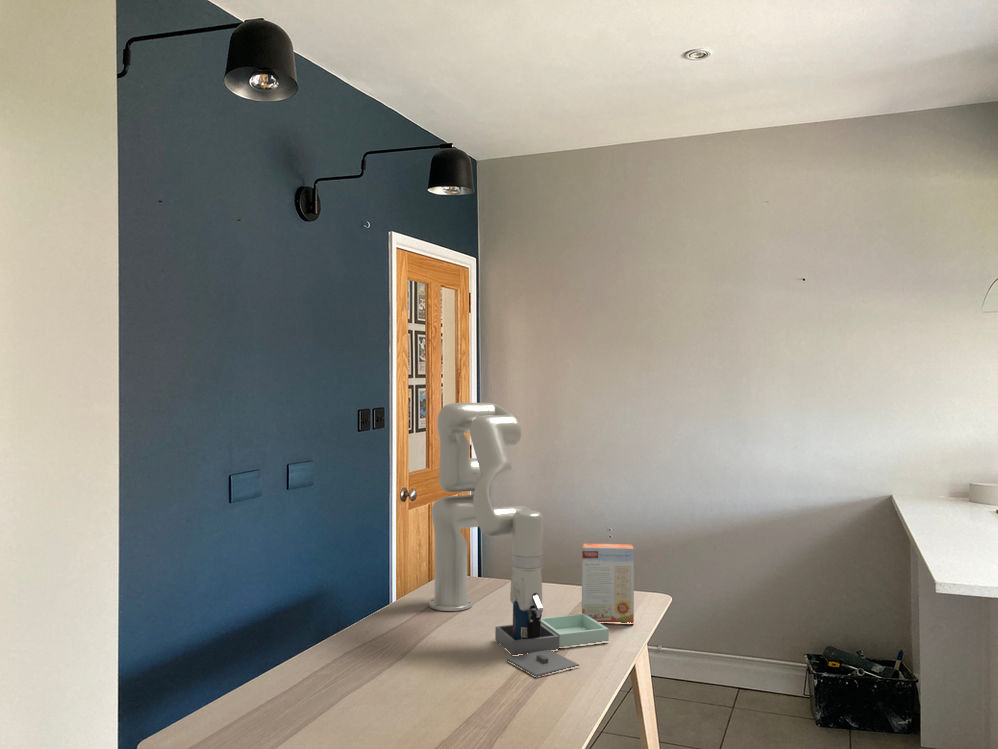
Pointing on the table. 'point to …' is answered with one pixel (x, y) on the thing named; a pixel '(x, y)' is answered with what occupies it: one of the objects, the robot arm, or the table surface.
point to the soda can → (520, 622)
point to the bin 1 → (526, 640)
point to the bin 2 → (576, 629)
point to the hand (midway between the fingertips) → (526, 631)
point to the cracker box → (608, 582)
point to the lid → (542, 662)
